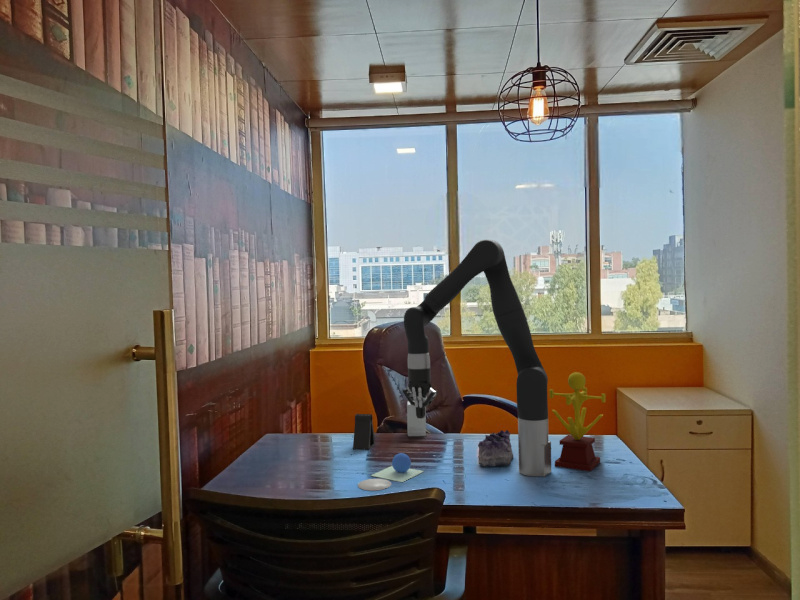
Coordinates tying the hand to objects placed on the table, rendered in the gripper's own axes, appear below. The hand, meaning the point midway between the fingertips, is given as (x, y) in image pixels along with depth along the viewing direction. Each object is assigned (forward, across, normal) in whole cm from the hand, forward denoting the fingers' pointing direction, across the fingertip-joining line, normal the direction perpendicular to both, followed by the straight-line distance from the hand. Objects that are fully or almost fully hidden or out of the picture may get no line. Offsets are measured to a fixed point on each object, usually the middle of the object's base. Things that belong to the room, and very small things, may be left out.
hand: (420, 418), depth 198 cm
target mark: (+15, 0, -14) cm, 21 cm away
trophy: (+16, +45, +24) cm, 53 cm away
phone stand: (+15, -29, +6) cm, 33 cm away
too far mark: (+15, 0, -26) cm, 30 cm away
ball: (+12, 0, -12) cm, 17 cm away
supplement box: (+15, -22, +31) cm, 41 cm away
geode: (+16, +20, +15) cm, 30 cm away
